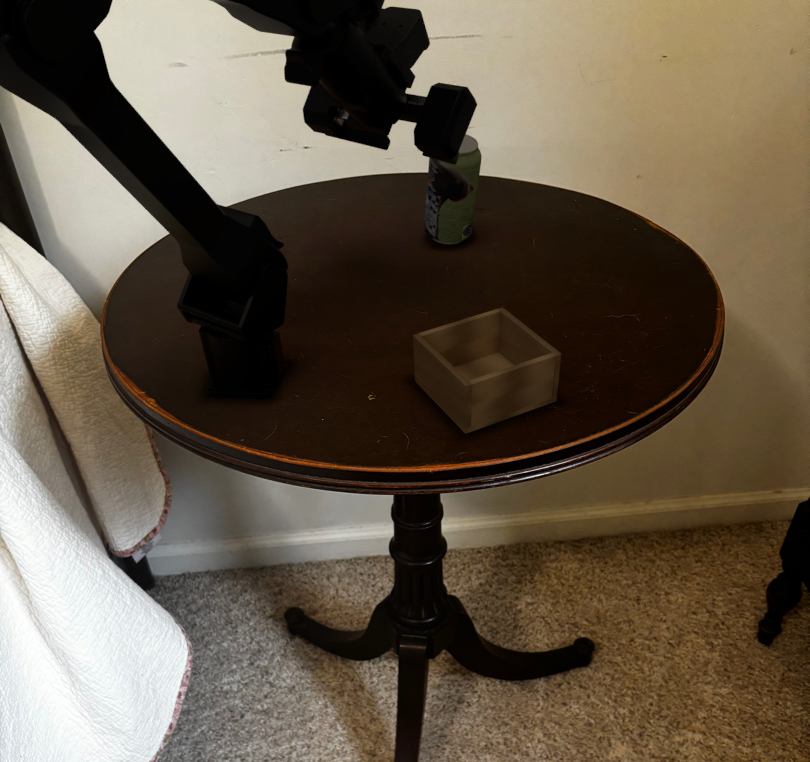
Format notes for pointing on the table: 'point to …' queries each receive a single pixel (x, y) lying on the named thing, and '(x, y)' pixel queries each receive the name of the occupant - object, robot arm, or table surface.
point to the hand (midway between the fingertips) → (421, 152)
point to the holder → (486, 369)
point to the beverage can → (453, 195)
